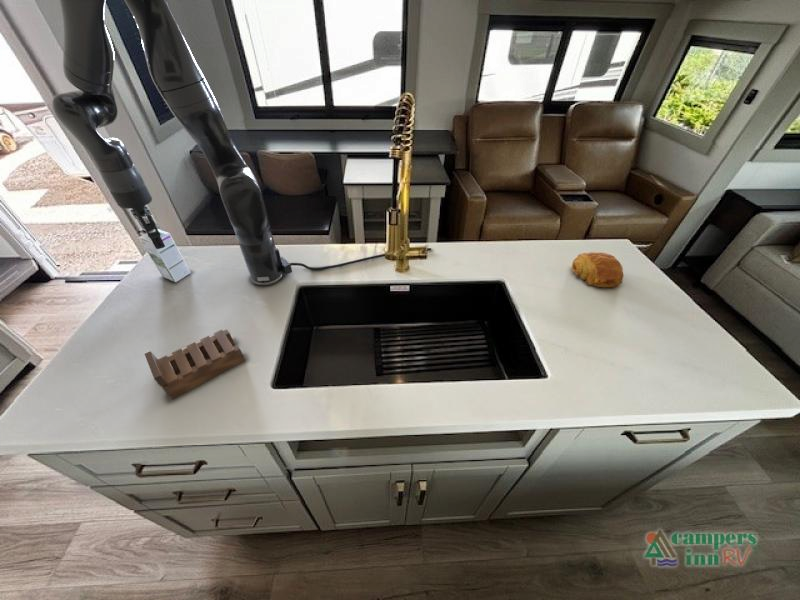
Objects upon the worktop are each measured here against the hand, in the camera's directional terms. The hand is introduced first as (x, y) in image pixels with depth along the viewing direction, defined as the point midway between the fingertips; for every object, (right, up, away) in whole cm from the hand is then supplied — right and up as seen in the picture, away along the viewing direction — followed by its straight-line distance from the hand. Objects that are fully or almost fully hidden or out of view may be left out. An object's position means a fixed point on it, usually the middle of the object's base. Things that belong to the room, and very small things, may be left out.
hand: (156, 241), depth 91 cm
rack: (+23, -32, -16) cm, 43 cm away
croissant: (+133, -9, +15) cm, 134 cm away
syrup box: (0, -9, +9) cm, 13 cm away
